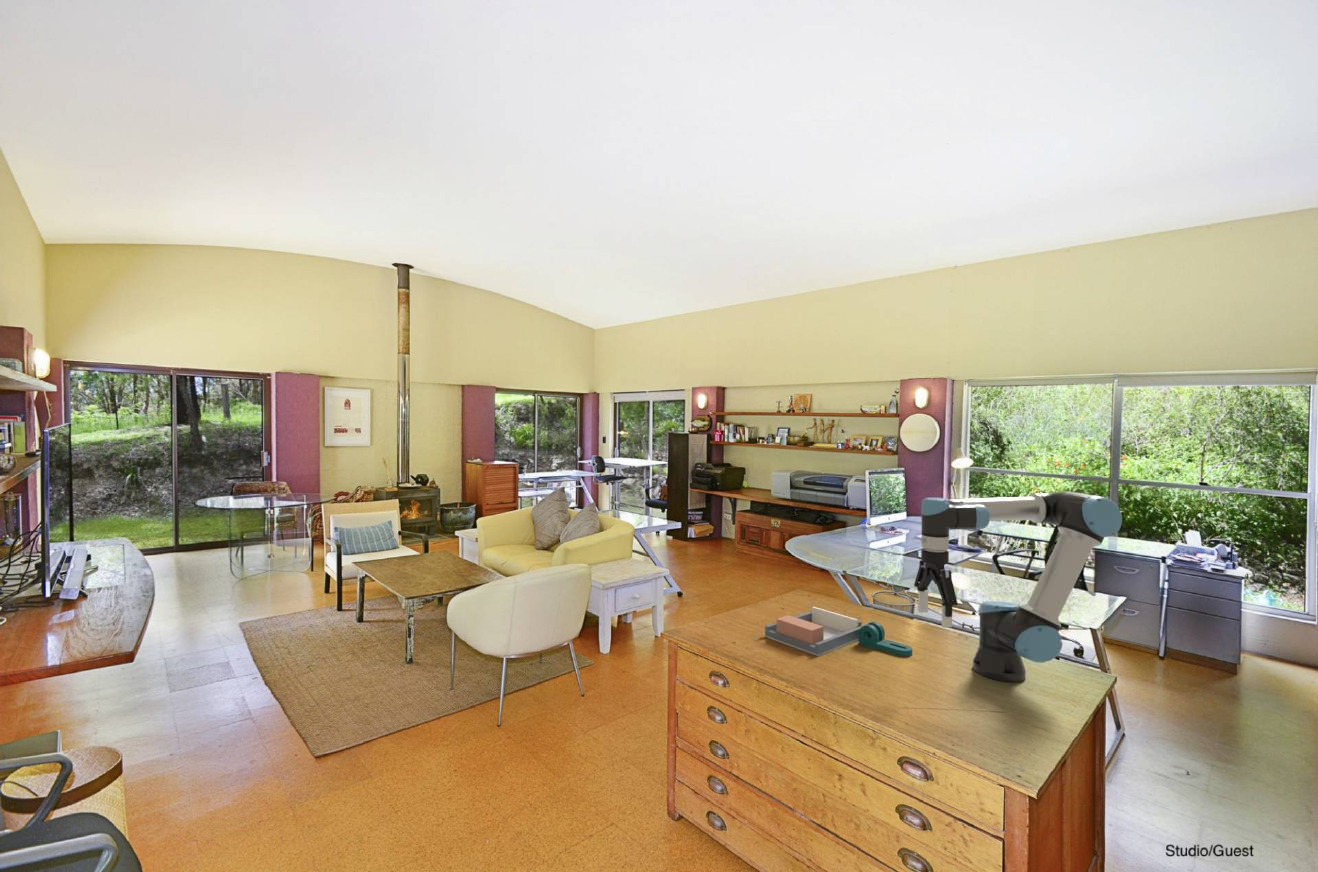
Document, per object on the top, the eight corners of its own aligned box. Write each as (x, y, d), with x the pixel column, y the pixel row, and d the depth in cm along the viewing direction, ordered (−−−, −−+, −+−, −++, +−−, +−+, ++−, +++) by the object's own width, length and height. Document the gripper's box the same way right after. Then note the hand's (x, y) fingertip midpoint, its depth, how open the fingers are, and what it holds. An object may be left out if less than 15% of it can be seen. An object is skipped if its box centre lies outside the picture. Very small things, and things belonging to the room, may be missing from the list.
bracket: (858, 644, 218) (859, 623, 218) (866, 640, 223) (867, 619, 223) (907, 658, 206) (908, 636, 206) (915, 653, 211) (915, 631, 210)
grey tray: (812, 620, 244) (812, 607, 244) (865, 637, 226) (865, 622, 225) (765, 636, 225) (765, 622, 225) (818, 656, 206) (818, 640, 206)
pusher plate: (813, 620, 241) (813, 606, 241) (858, 635, 226) (858, 619, 225) (811, 621, 241) (811, 606, 240) (856, 635, 225) (856, 620, 225)
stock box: (788, 632, 227) (788, 614, 227) (823, 645, 215) (823, 626, 215) (776, 637, 223) (776, 618, 223) (811, 649, 211) (812, 630, 210)
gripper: (903, 541, 190) (902, 606, 191) (945, 559, 165) (944, 634, 166) (925, 540, 191) (925, 605, 191) (971, 558, 166) (970, 633, 166)
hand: (934, 619), depth 179 cm, fingers open, 13 cm apart
